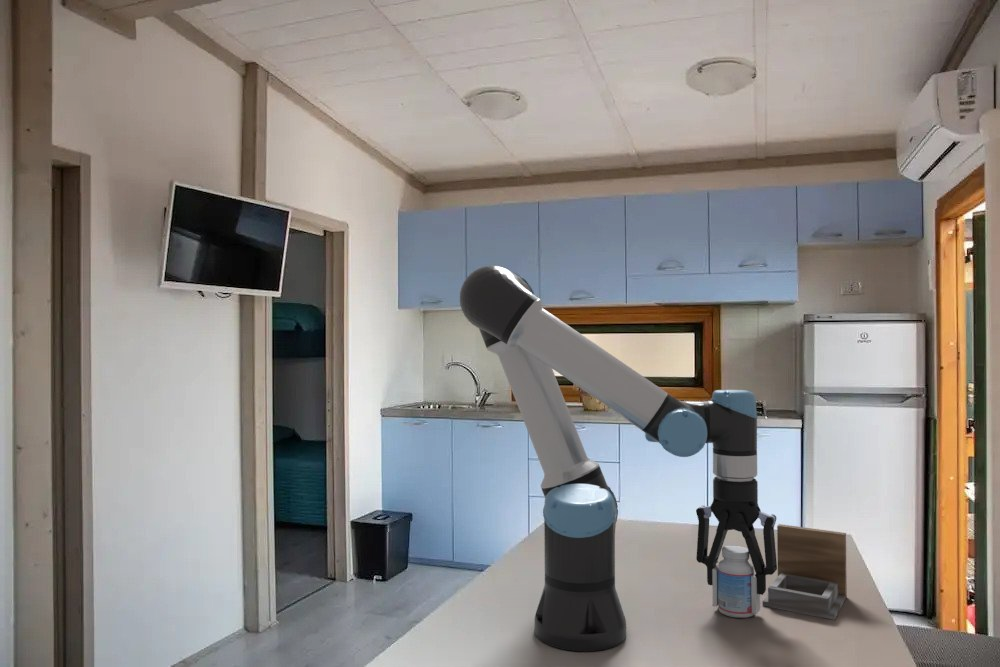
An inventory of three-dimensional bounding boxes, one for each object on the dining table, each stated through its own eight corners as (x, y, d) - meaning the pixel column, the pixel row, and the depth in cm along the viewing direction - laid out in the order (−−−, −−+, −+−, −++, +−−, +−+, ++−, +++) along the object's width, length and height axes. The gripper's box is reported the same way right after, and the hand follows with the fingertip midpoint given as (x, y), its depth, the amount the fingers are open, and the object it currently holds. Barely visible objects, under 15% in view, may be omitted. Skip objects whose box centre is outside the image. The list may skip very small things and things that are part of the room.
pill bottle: (756, 620, 123) (756, 555, 123) (720, 617, 124) (719, 553, 124) (751, 607, 129) (751, 545, 129) (716, 605, 130) (716, 543, 130)
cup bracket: (834, 619, 123) (833, 550, 123) (762, 605, 130) (761, 539, 130) (846, 597, 134) (845, 533, 134) (779, 585, 140) (779, 524, 141)
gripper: (796, 479, 124) (797, 612, 124) (689, 468, 135) (691, 591, 135) (786, 486, 118) (788, 626, 118) (675, 475, 129) (676, 603, 129)
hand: (736, 607), depth 126 cm, fingers closed on pill bottle, 6 cm apart
